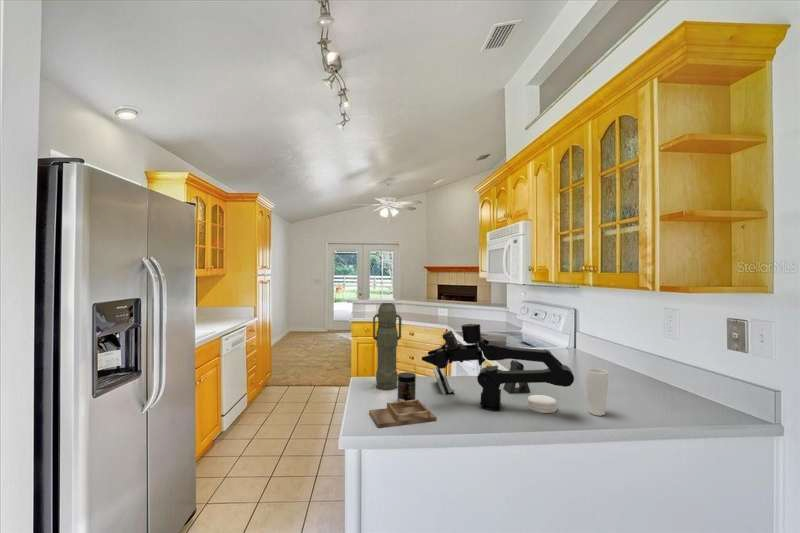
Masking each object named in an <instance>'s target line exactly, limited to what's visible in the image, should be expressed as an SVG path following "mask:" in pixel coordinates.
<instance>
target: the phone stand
mask: <svg viewBox="0 0 800 533" xmlns="http://www.w3.org/2000/svg"><path fill="white" fill-rule="evenodd" d="M509 365H510V367H509V370H508V371H515V370H525V369H524V368H525V367H524V364H523V363H521V362H520V361H519V360H517V359H511V361H510V363H509ZM516 386H517V383H504V384H503V390H504V391H505V392H507V393H508V394H510V395H514V394H530V393H531V389H530V387H529V383H518V387H516Z"/></svg>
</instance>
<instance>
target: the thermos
mask: <svg viewBox="0 0 800 533" xmlns="http://www.w3.org/2000/svg"><path fill="white" fill-rule="evenodd" d="M376 318H377V322H378V326H377V330H376ZM397 318H398V330H397ZM402 319H403V318H402V317H401V316H400V314H397V308H396V305H395V304H394V303H392V302H383V303H381V304H379V306H378V310H377V314H374V316H373V318H372V320H373V321H372V338H373V340H375V341H376V346H377V366H376V367H377V368H376V373H375V381H376V389H378V390H380V391H393V390H395V388H396V389H398V374H399V373H398V371H397V347H398V344H399V342H398V341H399V340H401V339H402V321H403V320H402Z"/></svg>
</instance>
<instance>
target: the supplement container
mask: <svg viewBox="0 0 800 533" xmlns="http://www.w3.org/2000/svg"><path fill="white" fill-rule="evenodd" d="M397 374H398V375H397V402H400V401H409V400H416V386H417V385H416V383H417V381H416V380H417V375H416V373H413V372H410V371H409V372H407V371H406V372H399V373H397Z"/></svg>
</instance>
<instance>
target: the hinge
mask: <svg viewBox="0 0 800 533" xmlns="http://www.w3.org/2000/svg"><path fill="white" fill-rule="evenodd" d="M432 370H433V373H434V376H435V379H436V382H437V385H438V387H439V389H440V392H441V394H442V395H443V396H445V395H447V393H449V394H450V393H453V394H454V395H456V391H455V390H454V387H453V386H452V384H451V383H450V379H449V378H448V377H447V374H446V372H445V370H444V368H442V369H440V368H439V367H437V366H434V367H433V368H432Z"/></svg>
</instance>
